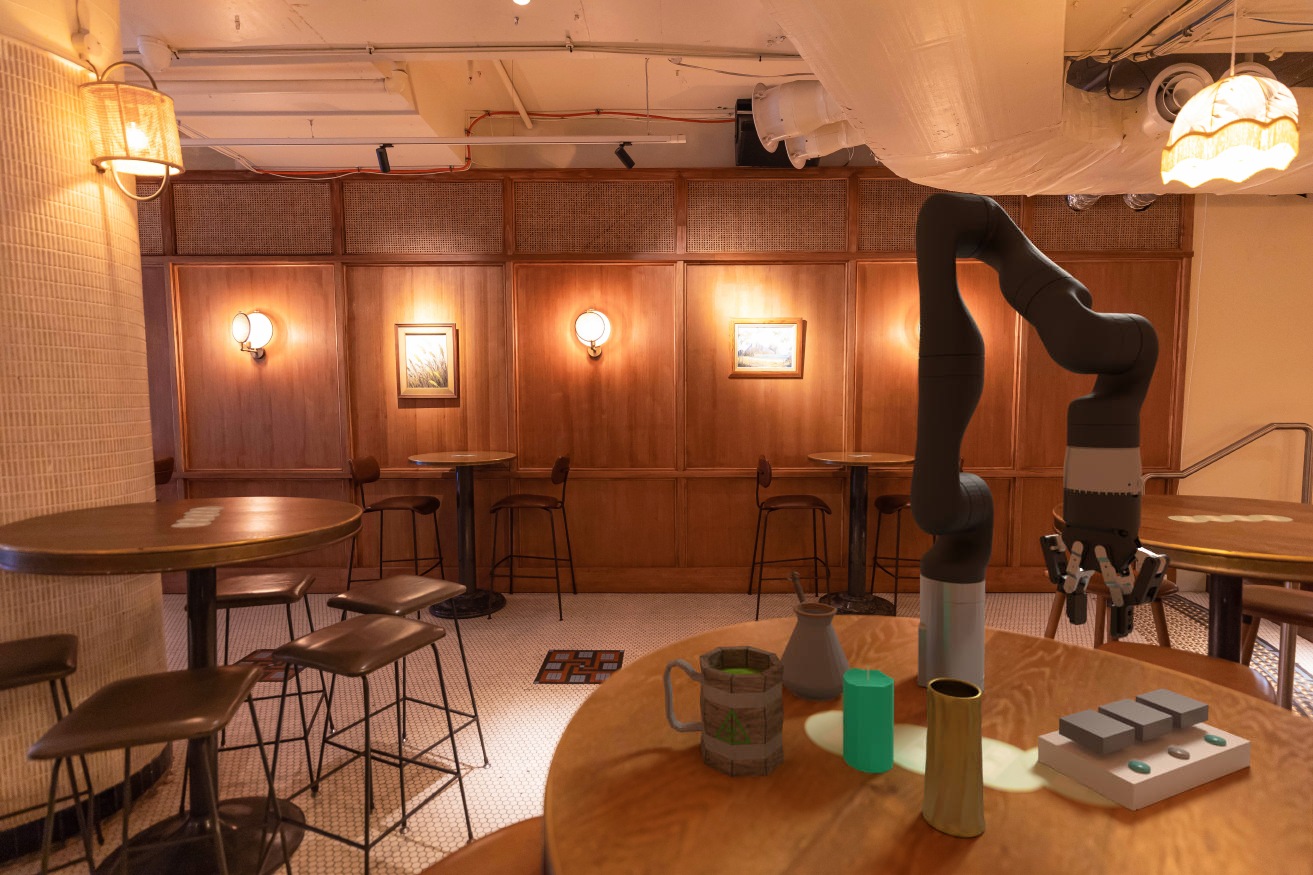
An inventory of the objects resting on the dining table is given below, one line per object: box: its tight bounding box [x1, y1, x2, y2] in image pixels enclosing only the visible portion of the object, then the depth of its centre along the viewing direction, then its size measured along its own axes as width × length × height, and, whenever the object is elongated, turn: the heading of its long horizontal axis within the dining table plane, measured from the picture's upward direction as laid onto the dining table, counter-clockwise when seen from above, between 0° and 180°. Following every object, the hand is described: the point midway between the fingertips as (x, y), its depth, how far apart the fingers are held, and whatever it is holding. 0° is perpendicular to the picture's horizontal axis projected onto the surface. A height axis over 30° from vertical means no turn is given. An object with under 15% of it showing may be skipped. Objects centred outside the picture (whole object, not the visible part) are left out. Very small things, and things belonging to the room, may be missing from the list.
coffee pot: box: [779, 570, 852, 702], centre depth 104 cm, size 21×12×15 cm, turn 0°
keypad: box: [1037, 722, 1252, 811], centre depth 78 cm, size 22×11×3 cm, turn 113°
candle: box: [842, 664, 895, 774], centre depth 80 cm, size 6×6×12 cm
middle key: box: [1097, 697, 1173, 742], centre depth 79 cm, size 6×5×2 cm
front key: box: [1058, 708, 1135, 755], centre depth 76 cm, size 6×5×2 cm
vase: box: [921, 678, 986, 838], centre depth 68 cm, size 6×6×14 cm
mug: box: [662, 645, 785, 778], centre depth 82 cm, size 16×11×12 cm
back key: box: [1134, 687, 1209, 729], centre depth 82 cm, size 6×5×2 cm
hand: (1098, 629), depth 76 cm, fingers open, 4 cm apart
